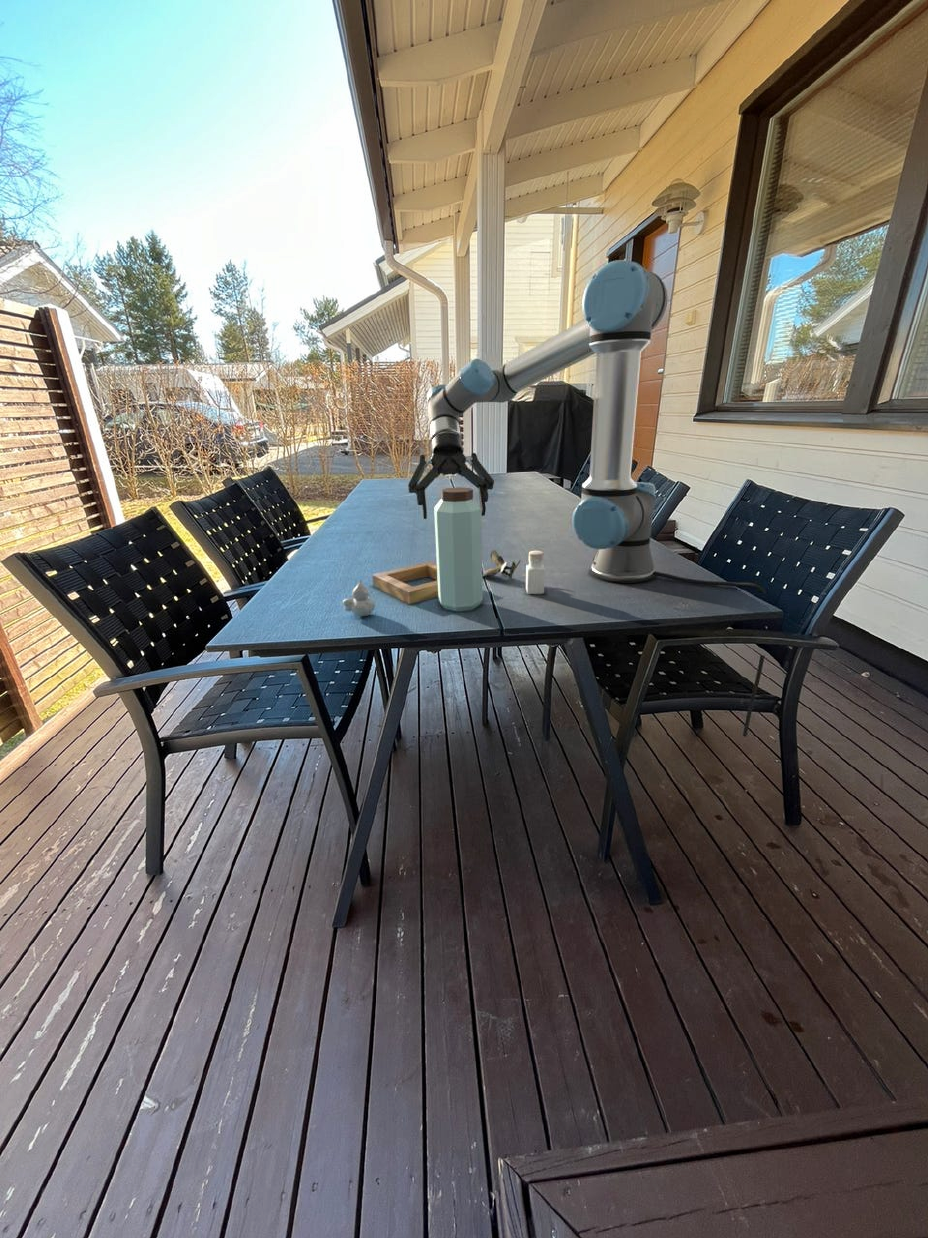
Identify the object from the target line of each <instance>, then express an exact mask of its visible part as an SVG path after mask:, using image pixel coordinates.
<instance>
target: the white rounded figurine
mask: <svg viewBox="0 0 928 1238" xmlns="http://www.w3.org/2000/svg"><path fill="white" fill-rule="evenodd" d="M370 594H371V591H370V590H369V589H368V588H367V587H366V585H365V584H363V581H362V580H359V582H358V584H357V585H356V586H355V587H354V588H353V589H352V592H351V596H352V598H344V599H343V601H342V604H343V606H344V611H345V612H352V614H354V615H355V616H357V617H367V616H370V615H371V614H372V613H373V612H374V611H375V608H376V602H375V600H373V599H372V598H371V597H370Z"/></svg>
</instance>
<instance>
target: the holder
mask: <svg viewBox="0 0 928 1238" xmlns="http://www.w3.org/2000/svg"><path fill="white" fill-rule="evenodd" d="M422 578H431V579H433V580H434V581H430V582H426V583H421V584H419V585H414V586H413V585H410V584H408V583H406V582H411V581H414V580H418V579H422ZM372 586H373V587H374V588H376V589H379V590H380V591H383V592H384V593H387V594H388V595H390V596H392V597H394V598H396V599H397V600H401V601H402V602H404V603H406V604H409V605H412V604H416V603H420V602H424V601H428V600H431V599H435V598H438V579H437V563H436V562H433V561H426V562H421V563H416V564H412V565H408V566H403V567H400V568H395V569H390V570H386V571H382V572H377V573H374V574H372Z"/></svg>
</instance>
